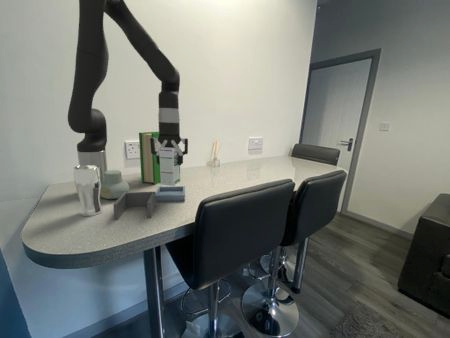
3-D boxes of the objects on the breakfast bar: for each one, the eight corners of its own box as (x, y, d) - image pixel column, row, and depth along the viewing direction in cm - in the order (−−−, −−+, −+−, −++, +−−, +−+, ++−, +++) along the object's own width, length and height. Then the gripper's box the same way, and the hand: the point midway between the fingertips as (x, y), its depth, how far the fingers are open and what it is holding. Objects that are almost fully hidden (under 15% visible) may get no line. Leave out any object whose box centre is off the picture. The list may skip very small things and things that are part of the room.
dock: (114, 219, 61) (113, 204, 60) (124, 205, 71) (123, 192, 70) (151, 217, 63) (150, 203, 62) (155, 204, 73) (155, 191, 72)
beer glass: (99, 205, 70) (95, 163, 66) (107, 211, 66) (103, 167, 62) (75, 212, 64) (69, 166, 61) (83, 219, 60) (76, 170, 57)
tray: (154, 202, 75) (154, 195, 74) (158, 192, 85) (158, 186, 85) (184, 201, 77) (184, 195, 76) (184, 191, 87) (184, 186, 87)
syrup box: (174, 186, 76) (173, 148, 73) (160, 184, 78) (158, 147, 74) (180, 182, 82) (180, 146, 79) (167, 180, 83) (166, 145, 80)
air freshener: (94, 197, 76) (91, 172, 74) (112, 191, 84) (111, 168, 82) (116, 202, 73) (114, 176, 71) (133, 195, 81) (132, 171, 78)
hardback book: (155, 184, 95) (153, 133, 90) (141, 183, 97) (138, 132, 92) (173, 175, 112) (172, 132, 107) (161, 174, 114) (160, 131, 108)
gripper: (146, 120, 69) (149, 167, 73) (188, 122, 72) (189, 167, 76) (150, 120, 77) (152, 163, 80) (188, 122, 79) (188, 163, 83)
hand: (170, 164), depth 78 cm, fingers closed on syrup box, 7 cm apart
